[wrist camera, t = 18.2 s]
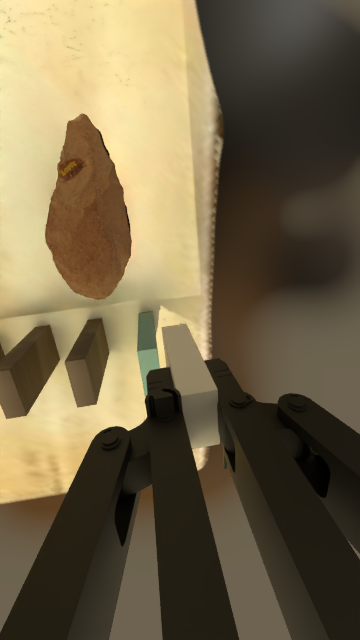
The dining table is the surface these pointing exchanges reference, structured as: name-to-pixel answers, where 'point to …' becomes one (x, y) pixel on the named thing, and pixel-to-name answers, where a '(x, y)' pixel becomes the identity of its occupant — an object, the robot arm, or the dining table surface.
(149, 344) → the tile
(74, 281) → the stone
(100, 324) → the tile
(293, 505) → the robot arm
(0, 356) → the tile
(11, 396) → the tile
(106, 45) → the dining table surface
